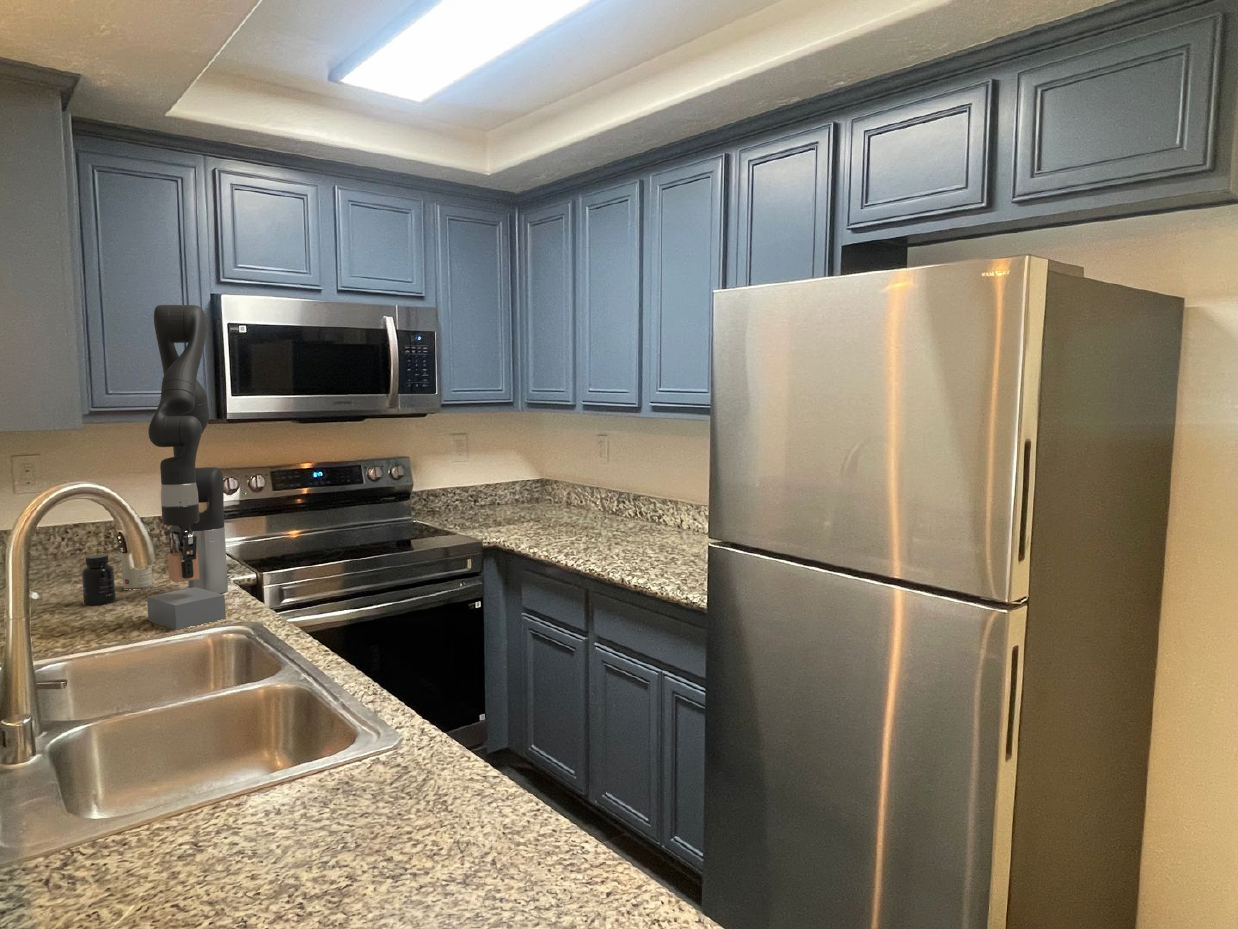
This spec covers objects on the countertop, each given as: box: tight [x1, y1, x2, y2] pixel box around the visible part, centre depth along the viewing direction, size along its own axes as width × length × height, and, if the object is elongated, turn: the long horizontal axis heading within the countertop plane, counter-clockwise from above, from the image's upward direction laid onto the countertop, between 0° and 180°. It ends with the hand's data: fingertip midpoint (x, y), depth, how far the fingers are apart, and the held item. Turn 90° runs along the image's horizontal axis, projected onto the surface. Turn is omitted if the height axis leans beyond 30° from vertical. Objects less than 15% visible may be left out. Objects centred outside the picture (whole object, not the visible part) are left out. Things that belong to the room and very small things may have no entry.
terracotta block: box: [167, 552, 199, 583], centre depth 184 cm, size 5×5×6 cm
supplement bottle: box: [81, 554, 116, 607], centre depth 202 cm, size 7×7×12 cm
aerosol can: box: [120, 524, 153, 590], centre depth 217 cm, size 7×7×20 cm
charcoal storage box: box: [146, 587, 227, 632], centre depth 185 cm, size 14×11×6 cm
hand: (184, 575), depth 184 cm, fingers closed on terracotta block, 5 cm apart
